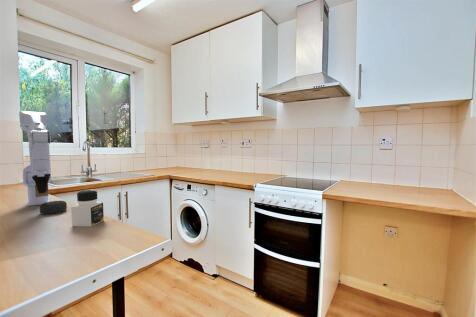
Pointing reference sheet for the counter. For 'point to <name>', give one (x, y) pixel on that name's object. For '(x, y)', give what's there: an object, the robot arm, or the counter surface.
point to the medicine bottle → (87, 209)
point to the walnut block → (41, 193)
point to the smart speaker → (53, 207)
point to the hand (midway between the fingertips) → (42, 192)
